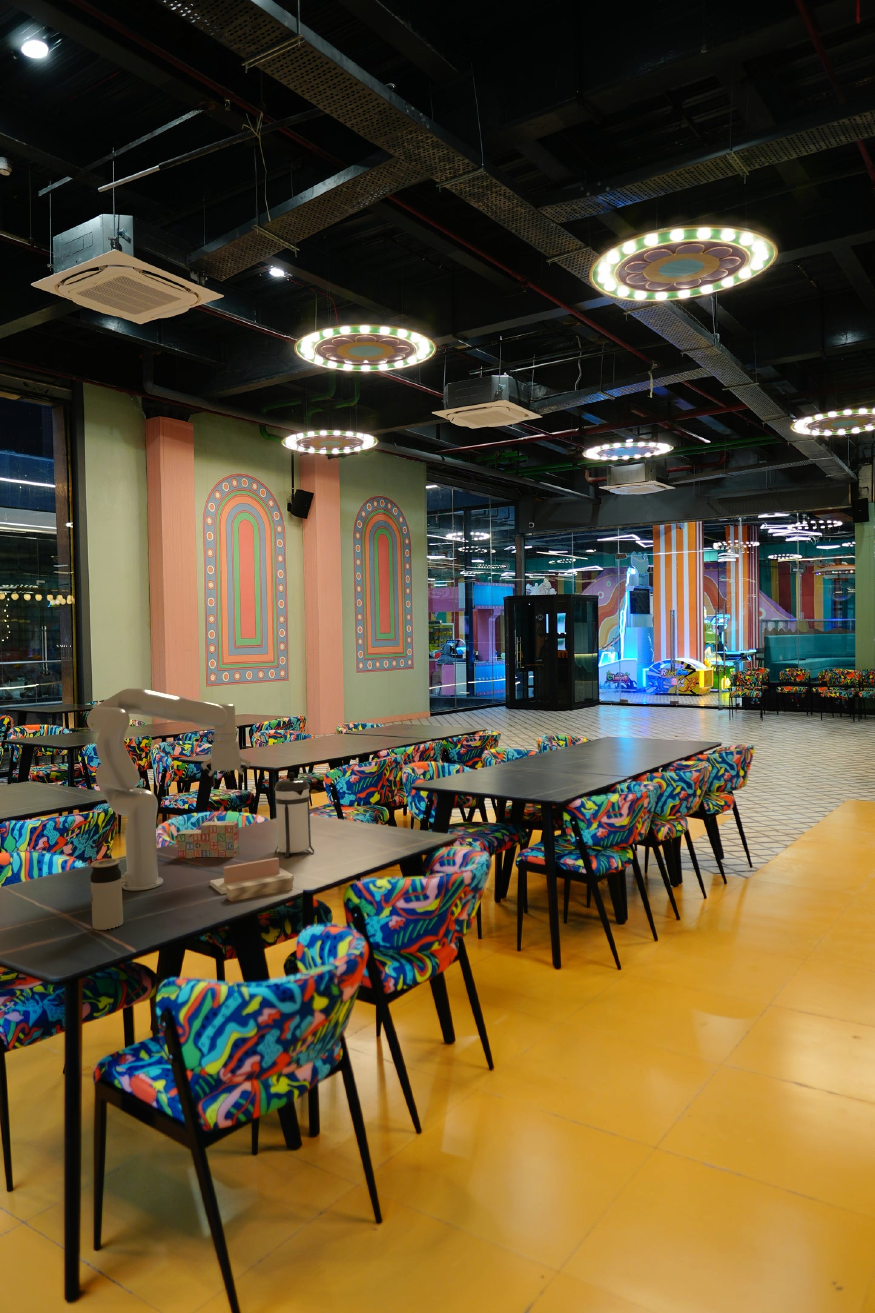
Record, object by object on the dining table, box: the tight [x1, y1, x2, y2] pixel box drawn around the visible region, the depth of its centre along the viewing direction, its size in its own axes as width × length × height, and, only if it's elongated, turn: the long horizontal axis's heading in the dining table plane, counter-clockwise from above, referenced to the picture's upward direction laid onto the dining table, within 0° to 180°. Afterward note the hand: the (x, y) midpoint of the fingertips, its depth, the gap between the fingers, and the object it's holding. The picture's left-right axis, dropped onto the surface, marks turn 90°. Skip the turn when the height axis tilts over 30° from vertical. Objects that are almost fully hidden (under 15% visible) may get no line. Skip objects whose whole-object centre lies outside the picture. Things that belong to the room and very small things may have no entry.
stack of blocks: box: [176, 820, 240, 859], centre depth 307 cm, size 21×6×12 cm, turn 85°
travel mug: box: [89, 858, 124, 931], centre depth 233 cm, size 8×8×18 cm
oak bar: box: [225, 875, 294, 902], centre depth 258 cm, size 20×4×4 cm, turn 122°
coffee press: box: [274, 771, 315, 859], centre depth 307 cm, size 17×16×30 cm
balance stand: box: [209, 857, 295, 895], centre depth 270 cm, size 24×12×6 cm, turn 122°
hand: (226, 785), depth 298 cm, fingers open, 9 cm apart
